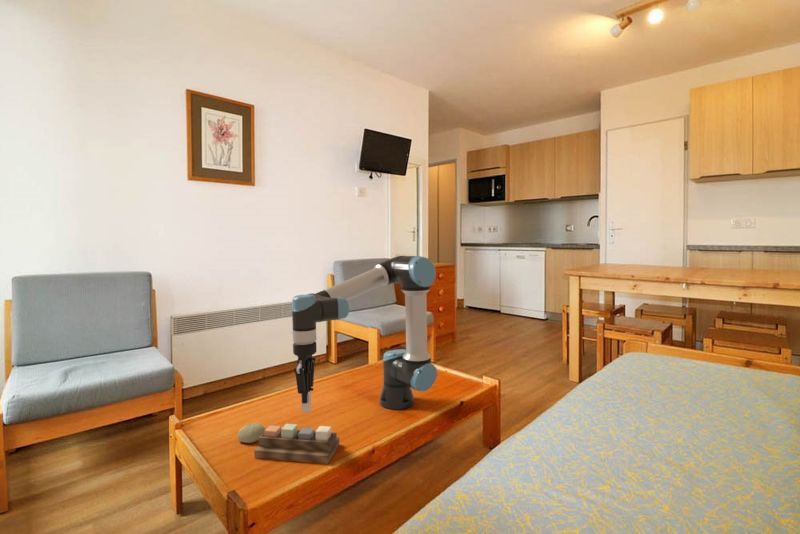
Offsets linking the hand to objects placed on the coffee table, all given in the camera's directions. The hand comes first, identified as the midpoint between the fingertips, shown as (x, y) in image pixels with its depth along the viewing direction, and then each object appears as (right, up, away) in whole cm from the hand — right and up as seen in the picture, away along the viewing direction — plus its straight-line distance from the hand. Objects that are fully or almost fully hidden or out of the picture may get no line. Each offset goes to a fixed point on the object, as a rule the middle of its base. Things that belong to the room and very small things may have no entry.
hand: (306, 411), depth 131 cm
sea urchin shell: (-22, -14, +10) cm, 28 cm away
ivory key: (+6, -9, 0) cm, 11 cm away
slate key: (0, -10, +1) cm, 10 cm away
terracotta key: (-12, -10, +2) cm, 16 cm away
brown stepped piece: (-3, -14, +1) cm, 14 cm away
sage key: (-6, -9, +1) cm, 11 cm away
